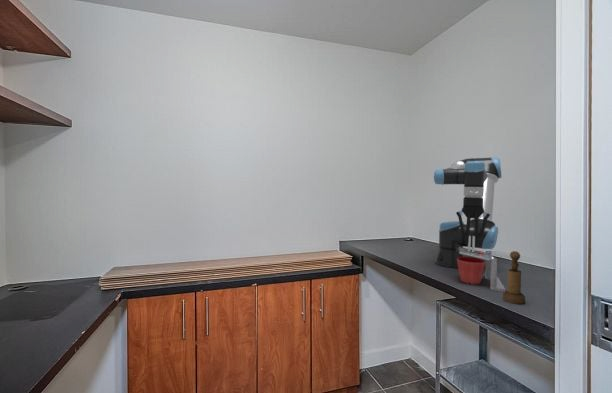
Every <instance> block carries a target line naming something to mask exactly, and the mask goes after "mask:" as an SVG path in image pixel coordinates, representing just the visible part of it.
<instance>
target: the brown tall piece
mask: <svg viewBox="0 0 612 393" xmlns="http://www.w3.org/2000/svg"><path fill="white" fill-rule="evenodd" d="M509 257H510V259H511V260H512V261H511V263H510V266H511V268H509V269H508V270H507V289H506V291H505V292H502V300H503V301H505V302H506V303H507V302H508V303H510V304H515V305H524V304H526V296H525V295H524V294H523V293H522V291H521V287H522V284H521V282H522V271H521V270H520V269H519V268H518V267H519V263H518V260H519V259H520V258H521V254H520V252H518V251H514V250H513V251H511V252H510V253H509Z"/></svg>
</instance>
